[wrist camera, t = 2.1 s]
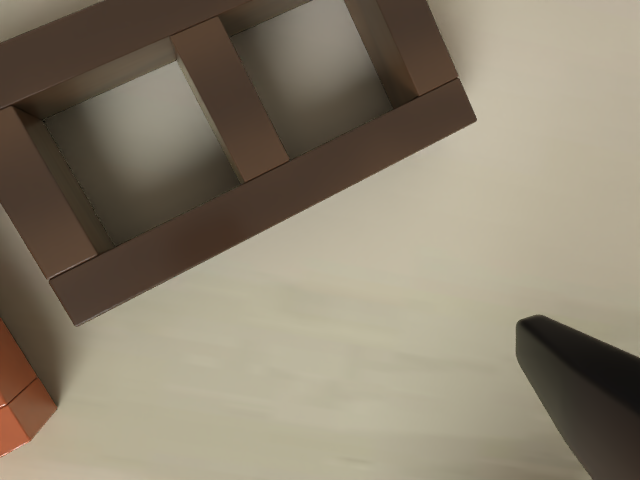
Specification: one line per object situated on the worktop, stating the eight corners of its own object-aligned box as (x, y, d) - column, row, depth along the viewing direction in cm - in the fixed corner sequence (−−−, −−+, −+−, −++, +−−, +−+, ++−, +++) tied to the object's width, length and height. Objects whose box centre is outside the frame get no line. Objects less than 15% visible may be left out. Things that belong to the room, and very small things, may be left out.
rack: (446, 131, 23) (478, 120, 20) (95, 311, 21) (75, 328, 18) (357, -70, 22) (378, -114, 19) (-33, 95, 19) (-78, 74, 16)
